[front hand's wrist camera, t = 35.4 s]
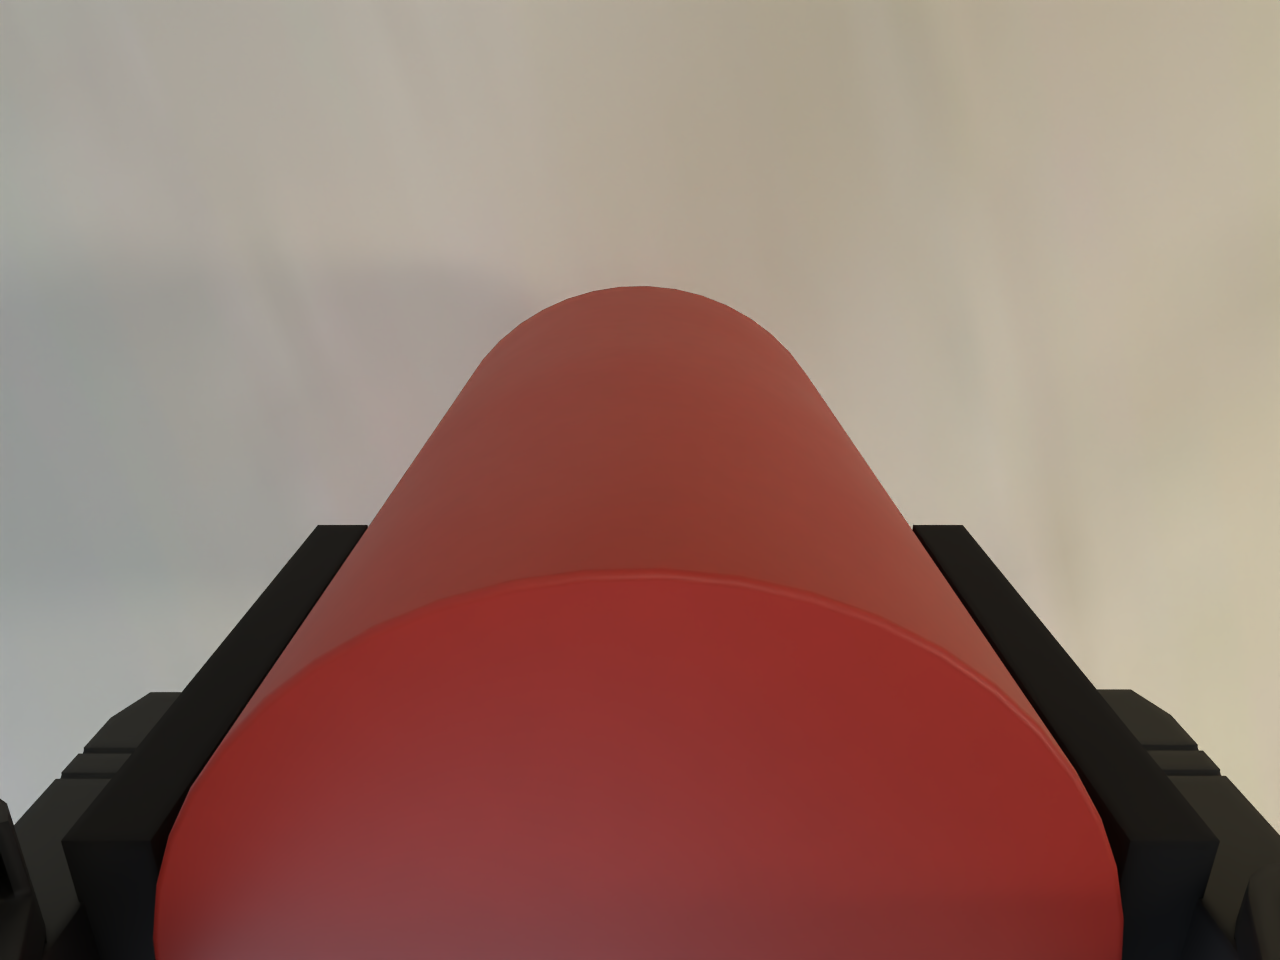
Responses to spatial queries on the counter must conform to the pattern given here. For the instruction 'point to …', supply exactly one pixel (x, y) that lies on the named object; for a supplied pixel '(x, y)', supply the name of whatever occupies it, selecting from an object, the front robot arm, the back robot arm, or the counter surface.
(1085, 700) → the front robot arm
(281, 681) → the can
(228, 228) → the counter surface
